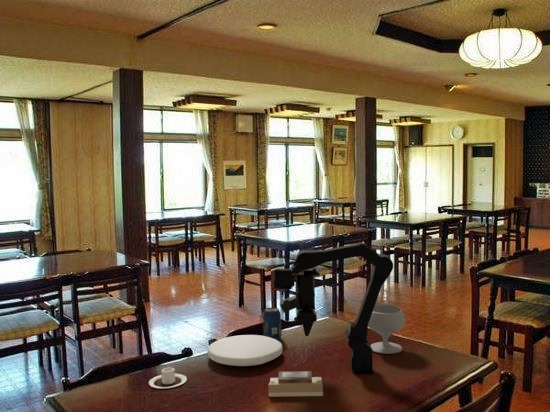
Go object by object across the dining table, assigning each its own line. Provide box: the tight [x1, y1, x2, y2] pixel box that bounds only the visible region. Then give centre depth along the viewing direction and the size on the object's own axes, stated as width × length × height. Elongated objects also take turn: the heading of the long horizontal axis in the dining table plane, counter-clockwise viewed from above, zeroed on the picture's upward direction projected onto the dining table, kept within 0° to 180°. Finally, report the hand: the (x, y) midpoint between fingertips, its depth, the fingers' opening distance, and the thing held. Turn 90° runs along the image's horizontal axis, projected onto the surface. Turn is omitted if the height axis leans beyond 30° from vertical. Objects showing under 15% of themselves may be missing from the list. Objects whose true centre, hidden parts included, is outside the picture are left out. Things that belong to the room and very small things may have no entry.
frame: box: [277, 370, 313, 383], centre depth 160 cm, size 10×6×4 cm, turn 88°
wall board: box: [267, 376, 324, 398], centre depth 162 cm, size 16×11×4 cm
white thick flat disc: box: [207, 334, 283, 367], centre depth 190 cm, size 28×6×27 cm
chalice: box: [368, 304, 406, 355], centre depth 193 cm, size 14×14×15 cm
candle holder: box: [148, 367, 188, 389], centre depth 170 cm, size 12×12×4 cm
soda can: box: [262, 307, 282, 341], centre depth 208 cm, size 7×7×12 cm
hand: (306, 335), depth 174 cm, fingers closed
